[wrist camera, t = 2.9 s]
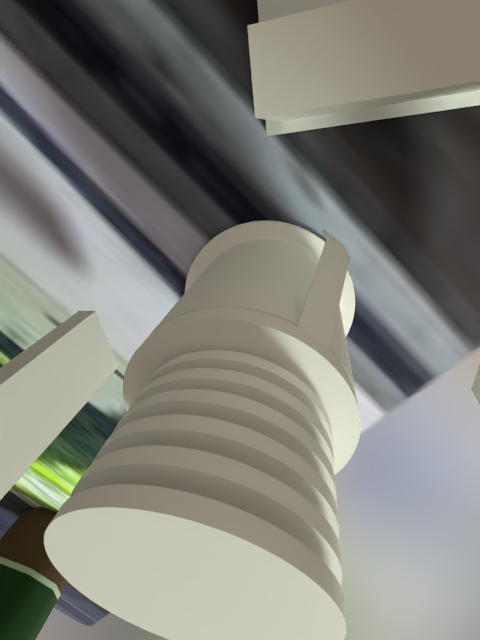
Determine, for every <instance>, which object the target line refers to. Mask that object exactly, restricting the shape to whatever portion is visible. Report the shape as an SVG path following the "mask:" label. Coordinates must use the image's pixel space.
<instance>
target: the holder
mask: <svg viewBox="0 0 480 640" xmlns="http://www.w3.org/2000/svg"><path fill="white" fill-rule="evenodd" d="M257 4H258V18H259V23H255V24H251V25H247V28H248V40H249V52H250V63H251V75H252V87H253V99H254V111H255V118H258V119H265V120H266V132H267V136H271V135H278V134H285V133H292V132H299V131H306V130H312V129H319V128H326V127H333V126H340V125H347V124H353V123H360V122H367V121H374V120H381V119H388V118H394V117H401V116H408V115H415V114H422V113H428V112H435V111H442V110H449V109H456V108H463V107H469V106H476V105H480V0H257Z"/></svg>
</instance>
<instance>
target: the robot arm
mask: <svg viewBox="0 0 480 640" xmlns="http://www.w3.org/2000/svg"><path fill="white" fill-rule="evenodd" d="M117 368H118V365H117V362H116V360H115V357H114V355H113V352H112V350H111V348H110V345H109V343H108V340H107V338H106V335H105V333H104V330H103V328H102V326H101V323H100V321H99V318H98V316H97V313H96V311H78V312H77V313H76V314H74V315H73V316H71V317H70V318H69V319H67V320H66V321H65V322H63V323H62V324H60V325H59V326H58V327H56V328H55V329H54V330H52V331H51V332H49V333H48V334H47V335H45V336H44V337H43V338H41V339H40V340H38V341H37V342H36V343H34V344H33V345H32V346H30V347H29V348H28V349H26V350H25V351H23V352H22V353H21V354H19V355H18V356H17V357H15V358H14V359H12V360H11V361H10V362H8V363H7V364H6V365H4V366H3V367H1V368H0V500H1V499H2V498H3V497H4V495H5V494H6V493H7V492H8V491H9V490H10V489H11V488H12V486H13V485H14V484H15V483H16V482H17V481H18V480H19V478H20V477H21V476H22V475H23V474H24V473H25V472H26V471H27V469H28V468H29V467H30V466H31V465H32V464H33V463H34V462H35V460H36V459H37V458H38V457H39V456H40V455H41V454H42V452H43V451H44V450H45V449H46V448H47V447H48V446H49V445H50V443H51V442H52V441H53V440H54V439H55V438H56V437H57V435H58V434H59V433H60V432H61V431H62V430H63V429H64V428H65V426H66V425H67V424H68V423H69V422H70V421H71V420H72V419H73V417H74V416H75V415H76V414H77V413H78V412H79V411H80V409H81V408H82V407H83V406H84V405H85V404H86V403H87V402H88V400H89V399H90V398H91V397H92V396H93V395H94V394H95V392H96V391H97V390H98V389H99V388H100V387H101V386H102V385H103V383H104V382H105V381H106V380H107V379H108V378H109V377H110V376H111V374H112V373H113V372H114V371H115V370H116V369H117ZM472 391H473V393H474V395H475V396H476V398H477V400H478V402H479V403H480V366H479V369H478V372H477V375H476V378H475V381H474V384H473V387H472Z"/></svg>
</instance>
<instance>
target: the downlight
mask: <svg viewBox="0 0 480 640" xmlns="http://www.w3.org/2000/svg"><path fill="white" fill-rule="evenodd" d="M323 232H324V235H325V239H326V242H325V241H324V240H323V239H321V238H320V237H318V236H317V235H315V234H314V233H312V232H310V231H308V230H306V229H304V228H302V227H299V226H296V225H293V224H290V223H285V222H279V221H252V222H247V223H243V224H240V225H236V226H234V227H231V228H229V229H227V230H225V231H223V232H222V233H220V234H218V235H217V236H215V237H214V238H213V239H212V240H210V241H209V242H208V243H207V244H206V245H205V246H204V247H203V248H202V249H201V251H200V252H199V253H198V255H197V256H196V257H195V259H194V261H193V263H192V265H191V267H190V269H189V272H188V275H187V279H186V285H185V294H184V295H183V296H182V297H181V299H180V300H179V301H178V302H177V303H176V305H175V306H174V307H173V308H172V309H171V310H170V312H169V313H168V314H167V315H166V316H165V318H164V319H163V320H162V321H161V322H160V323H159V325H158V326H157V327H156V328H155V329H154V331H153V332H152V333H151V334H150V335H149V337H148V338H147V339H146V340H145V341H144V342H143V343H142V345H141V346H140V347H139V348H138V349H137V351H136V352H135V353H134V355H133V356H132V358H131V360H130V361H129V363H128V366H127V369H126V371H125V376H124V382H123V394H124V401H125V405H126V409H127V413H126V414H125V415H124V416H123V418H122V419H121V421H120V422H119V424H118V425H117V426H116V428H115V430H114V431H113V433H112V435H111V436H110V437H109V438H108V440H107V441H106V443H105V444H104V445H103V447H102V448H101V450H100V451H99V453H98V454H97V456H96V458H95V459H94V462H93V463H92V464H91V465H90V467H89V468H88V469H87V470H86V472H85V473H84V475H83V476H82V477H81V479H80V480H79V482H78V483H77V485H76V486H75V488H74V490H73V491H72V494H71V497H70V498H69V499H68V500H67V501H66V502H65V503H64V504H63V505H62V507H61V508H60V509H59V511H58V512H57V514H56V515H55V517H54V518H53V520H52V521H51V523H50V524H49V525H48V527H47V529H46V531H45V534H44V546H45V550H46V552H47V555H48V557H49V559H50V561H51V562H52V564H53V565H54V566H55V568H56V569H57V570H58V571H59V573H60V574H61V575H62V576H63V577H64V578H65V579H66V580H67V581H68V582H69V583H70V584H71V585H73V586H74V587H75V588H76V589H77V590H79V591H80V592H81V593H82V594H84V595H85V596H86V597H88V598H89V599H90V600H92V601H93V602H95V603H96V604H98V605H99V606H101V607H103V608H104V609H106V610H108V611H109V612H111V613H113V614H115V615H116V616H118V617H120V618H122V619H124V620H126V621H128V622H130V623H132V624H134V625H136V626H138V627H140V628H142V629H145V630H147V631H149V632H152V633H154V634H157V635H159V636H161V637H164V638H167V639H169V640H344V639H345V636H346V617H345V605H344V604H345V603H344V595H343V591H342V589H341V584H342V563H341V551H340V545H339V522H338V511H337V495H336V482H335V474H336V473H338V472H339V471H340V470H341V469H342V468H343V467H344V466H345V465H346V463H347V462H348V461H349V460H350V458H351V457H352V455H353V453H354V451H355V449H356V447H357V444H358V440H359V436H360V426H361V425H360V414H359V409H358V404H357V399H356V393H355V388H354V382H353V376H352V371H351V365H350V360H349V354H348V349H347V343H346V338H345V337H346V335H347V333H348V332H349V329H350V327H351V324H352V321H353V317H354V311H355V293H354V288H353V284H352V280H351V277H350V274H349V272H348V270H347V268H348V264H349V259H350V256H349V254H348V252H347V250H346V248H345V246H344V245H343V244H341V243H340V242H339V241H338V240H336V239H335V238H334V237H333V236H332V235H330V234H329V233H328V232H327V231H325V230H323Z"/></svg>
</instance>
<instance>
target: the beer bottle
mask: <svg viewBox="0 0 480 640" xmlns="http://www.w3.org/2000/svg"><path fill="white" fill-rule="evenodd" d="M56 514H57V513H55V512H53V511H50V510H47V509H44V508H42V507H40V508H34V509H28V510H26V511H25V512H23V513H22V514H21V515H20V517H19V518H18V519H17V520H16V521H15V522H14V524H13V525H12V526H11V527H10V528H9V529H8V531H7V532H6V533H5V534H4V536H3V537H2V538H1V540H0V640H35V639H36V637H37V636H38V634H39V632H40V630H41V629H42V627H43V625H44V623H45V621H46V619H47V618H48V616H49V614H50V613H51V611H52V609H53V607H54V605H55V604H56V602H57V600H58V598H59V596H60V595H61V593H62V591H63V589H64V588H65V586H66V584H67V582H68V581H67V580H66V579H65V578H64V577H63V576H62V575H61V574H60V573H59V571H58V570H57V569H56V568H55V566H54V565H53V564H52V562H51V561H50V559H49V557H48V555H47V552H46V550H45V546H44V534H45V531H46V529H47V527H48V525H49V524H50V523H51V521H52V520H53V518H54V517H55V515H56Z"/></svg>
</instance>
